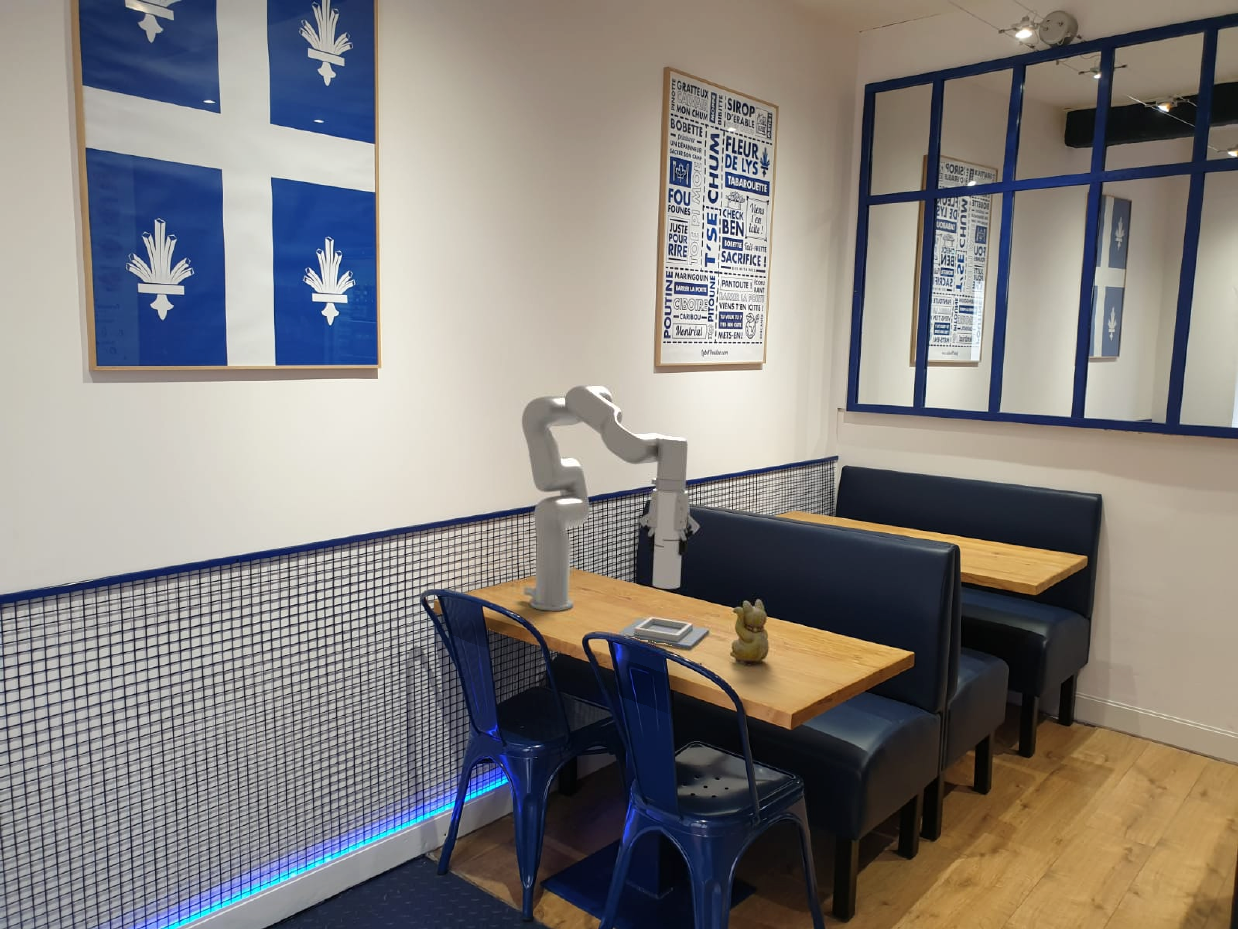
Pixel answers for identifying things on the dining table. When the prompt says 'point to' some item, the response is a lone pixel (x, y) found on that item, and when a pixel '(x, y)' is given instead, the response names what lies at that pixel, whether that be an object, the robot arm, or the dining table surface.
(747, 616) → the decorative figurine
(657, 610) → the dining table surface
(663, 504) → the cylindrical container
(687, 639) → the collar board
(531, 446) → the robot arm
